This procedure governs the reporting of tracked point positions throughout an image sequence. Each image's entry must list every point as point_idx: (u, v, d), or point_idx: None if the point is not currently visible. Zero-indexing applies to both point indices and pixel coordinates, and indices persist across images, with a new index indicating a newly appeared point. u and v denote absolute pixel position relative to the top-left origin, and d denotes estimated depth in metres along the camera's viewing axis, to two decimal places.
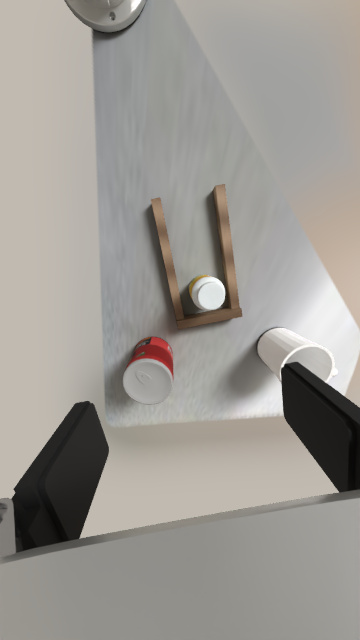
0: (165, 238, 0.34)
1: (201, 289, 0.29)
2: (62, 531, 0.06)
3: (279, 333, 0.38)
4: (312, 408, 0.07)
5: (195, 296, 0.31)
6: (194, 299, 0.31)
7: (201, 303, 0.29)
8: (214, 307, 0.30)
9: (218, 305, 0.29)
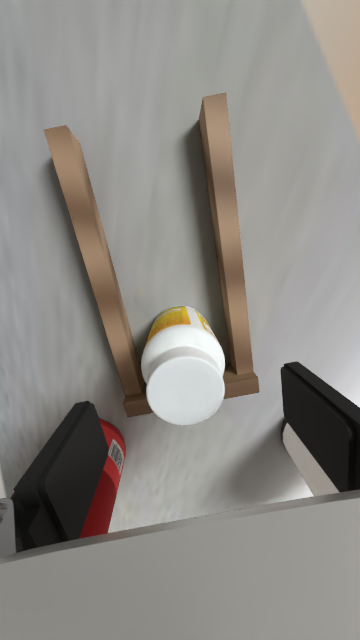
0: (88, 228, 0.15)
1: (155, 375, 0.10)
2: (62, 531, 0.06)
3: None
4: (312, 408, 0.07)
5: (148, 376, 0.12)
6: (146, 382, 0.12)
7: (157, 411, 0.10)
8: (194, 420, 0.10)
9: (205, 415, 0.10)
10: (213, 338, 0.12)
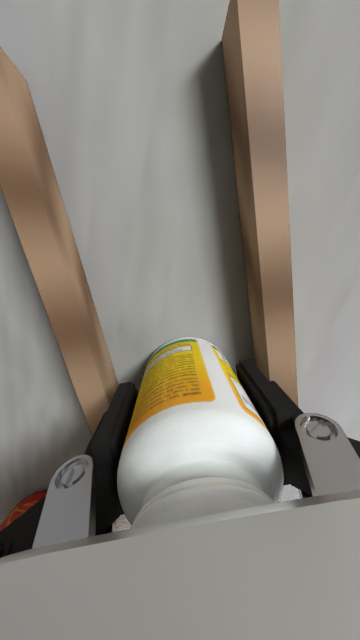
0: (36, 217, 0.09)
1: None
2: None
3: None
4: (253, 400, 0.08)
5: (129, 513, 0.06)
6: (127, 518, 0.06)
7: None
8: None
9: None
10: (263, 432, 0.06)
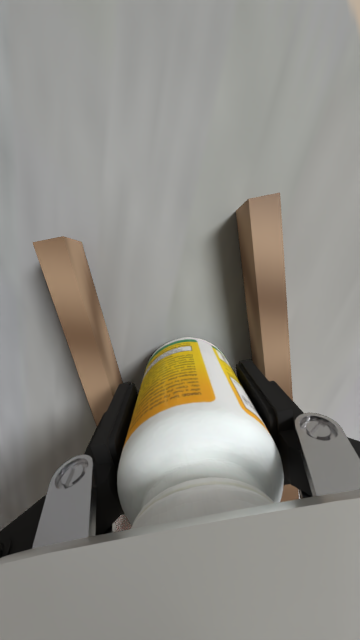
0: (91, 355, 0.11)
1: None
2: None
3: None
4: (253, 400, 0.08)
5: (129, 514, 0.06)
6: (127, 518, 0.06)
7: None
8: None
9: None
10: (263, 432, 0.06)
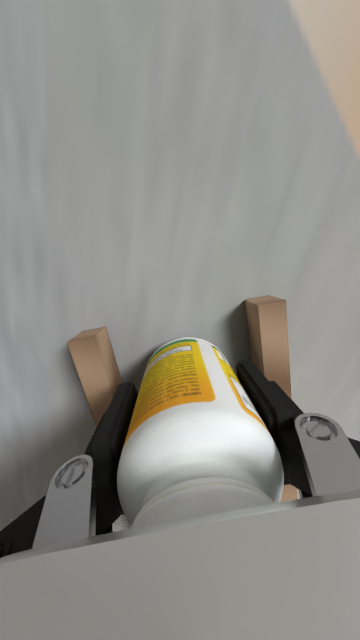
0: None
1: None
2: None
3: None
4: (253, 399, 0.08)
5: (129, 514, 0.06)
6: (127, 518, 0.06)
7: None
8: None
9: None
10: (263, 432, 0.06)
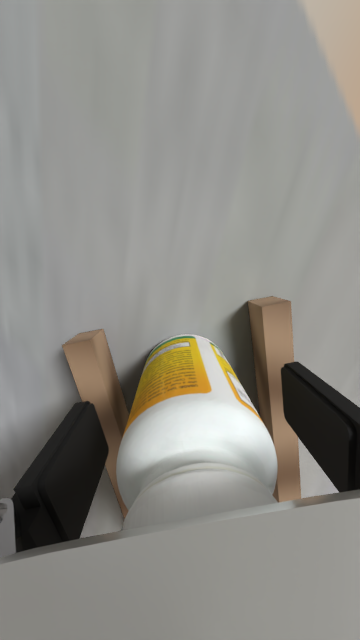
0: (113, 437, 0.12)
1: None
2: (62, 531, 0.06)
3: None
4: (312, 408, 0.07)
5: (128, 501, 0.06)
6: (126, 506, 0.06)
7: None
8: None
9: None
10: (257, 422, 0.06)
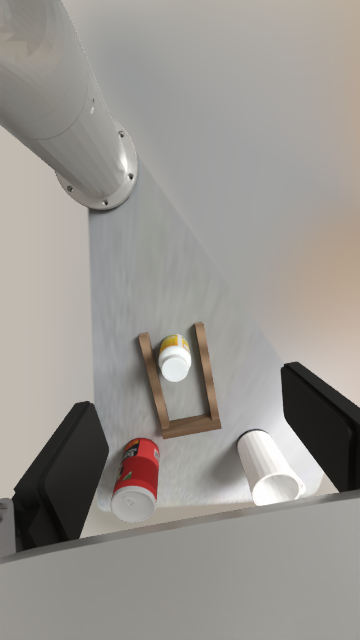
0: (151, 366, 0.38)
1: (164, 363, 0.30)
2: (62, 531, 0.06)
3: (255, 442, 0.41)
4: (312, 408, 0.07)
5: (161, 365, 0.32)
6: (160, 367, 0.32)
7: (165, 376, 0.30)
8: (178, 379, 0.30)
9: (181, 378, 0.30)
10: (186, 351, 0.32)
